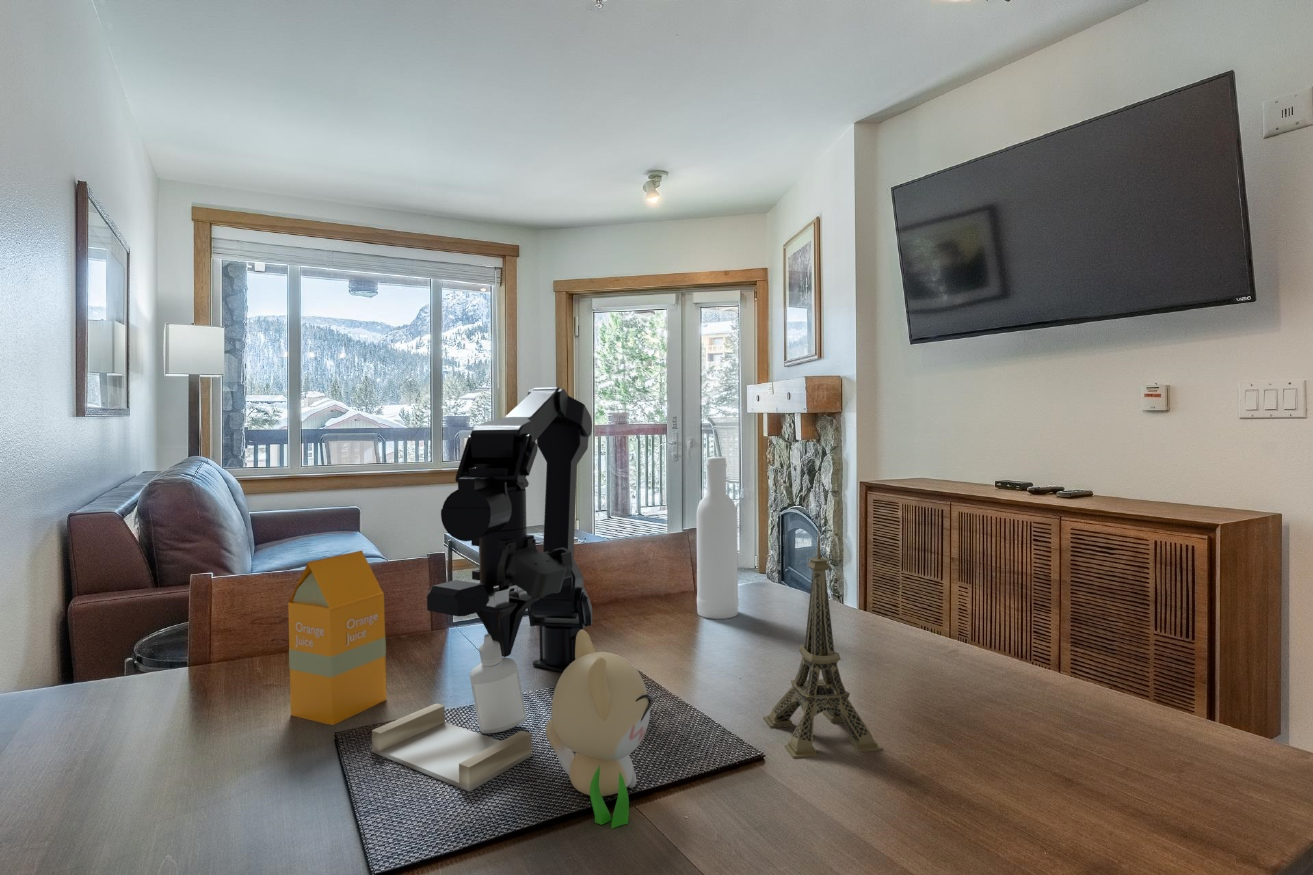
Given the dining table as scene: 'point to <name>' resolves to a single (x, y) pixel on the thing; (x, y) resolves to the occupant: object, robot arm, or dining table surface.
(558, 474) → the robot arm
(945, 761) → the dining table surface
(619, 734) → the kitten
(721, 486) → the bottle
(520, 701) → the eye dropper bottle
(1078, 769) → the dining table surface
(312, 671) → the orange juice
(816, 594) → the eiffel tower
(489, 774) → the u rest
